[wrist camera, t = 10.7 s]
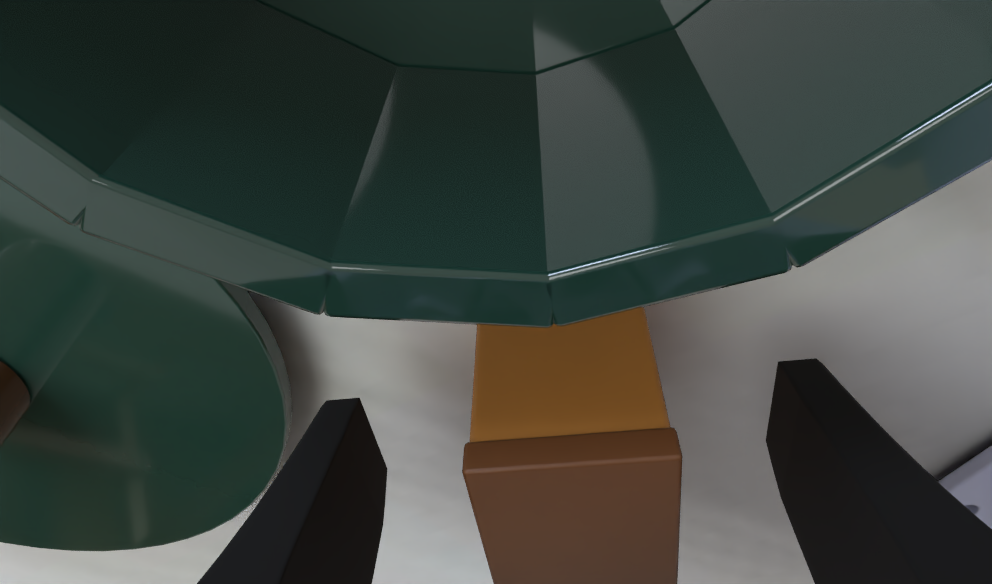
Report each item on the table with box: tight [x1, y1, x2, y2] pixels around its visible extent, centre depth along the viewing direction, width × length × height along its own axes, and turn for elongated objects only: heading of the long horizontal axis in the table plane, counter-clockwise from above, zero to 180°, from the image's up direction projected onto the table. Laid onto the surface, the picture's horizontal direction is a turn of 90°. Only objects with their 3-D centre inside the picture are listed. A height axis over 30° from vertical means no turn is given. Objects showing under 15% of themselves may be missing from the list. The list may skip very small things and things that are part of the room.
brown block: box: [462, 307, 682, 584], centre depth 12 cm, size 5×3×6 cm, turn 8°
